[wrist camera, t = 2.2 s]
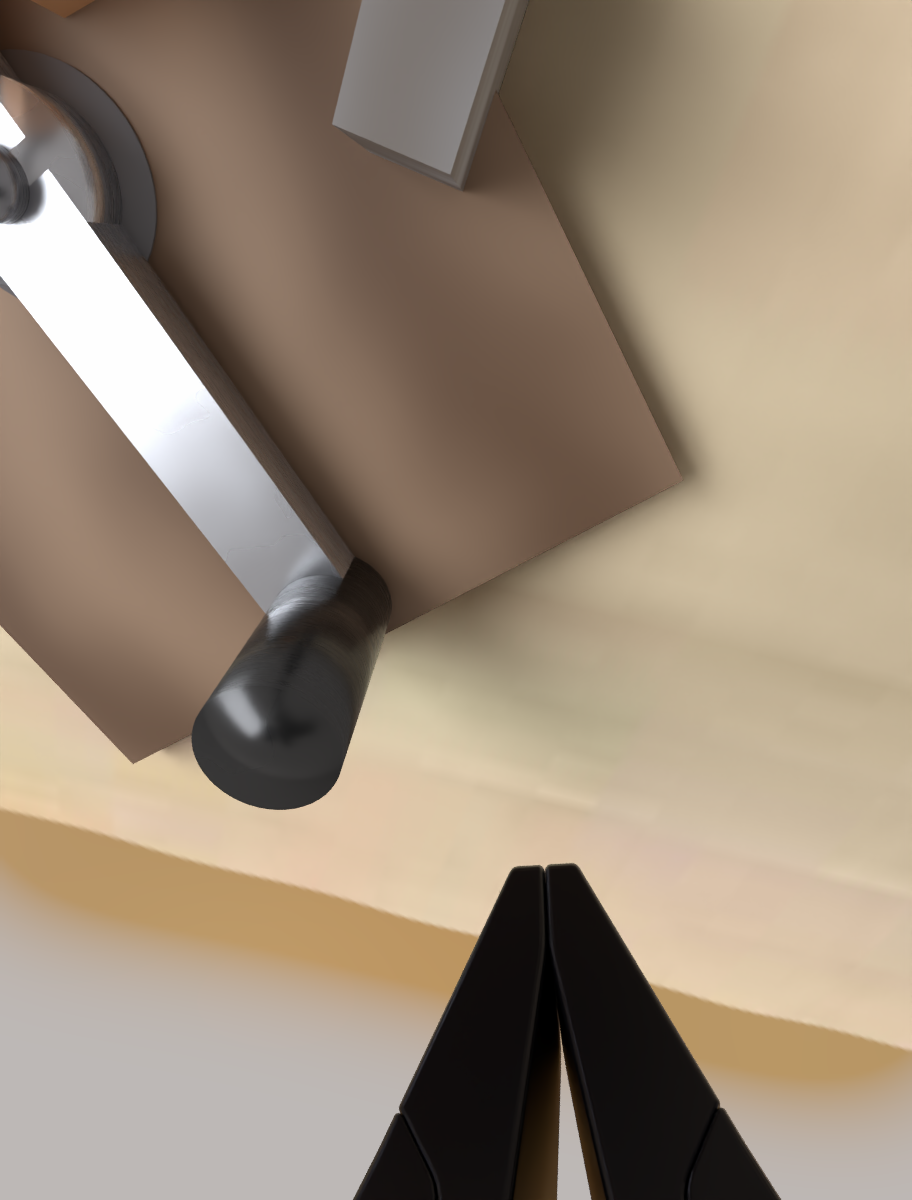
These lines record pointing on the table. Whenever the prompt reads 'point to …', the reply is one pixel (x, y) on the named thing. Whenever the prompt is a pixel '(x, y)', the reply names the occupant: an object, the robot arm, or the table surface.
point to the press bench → (308, 330)
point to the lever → (194, 459)
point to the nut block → (63, 6)
